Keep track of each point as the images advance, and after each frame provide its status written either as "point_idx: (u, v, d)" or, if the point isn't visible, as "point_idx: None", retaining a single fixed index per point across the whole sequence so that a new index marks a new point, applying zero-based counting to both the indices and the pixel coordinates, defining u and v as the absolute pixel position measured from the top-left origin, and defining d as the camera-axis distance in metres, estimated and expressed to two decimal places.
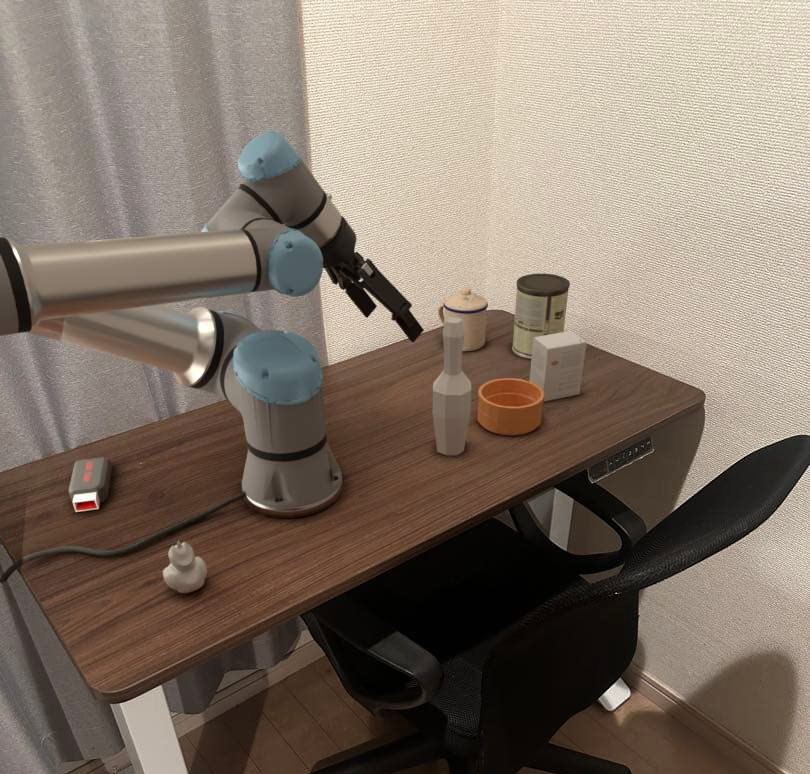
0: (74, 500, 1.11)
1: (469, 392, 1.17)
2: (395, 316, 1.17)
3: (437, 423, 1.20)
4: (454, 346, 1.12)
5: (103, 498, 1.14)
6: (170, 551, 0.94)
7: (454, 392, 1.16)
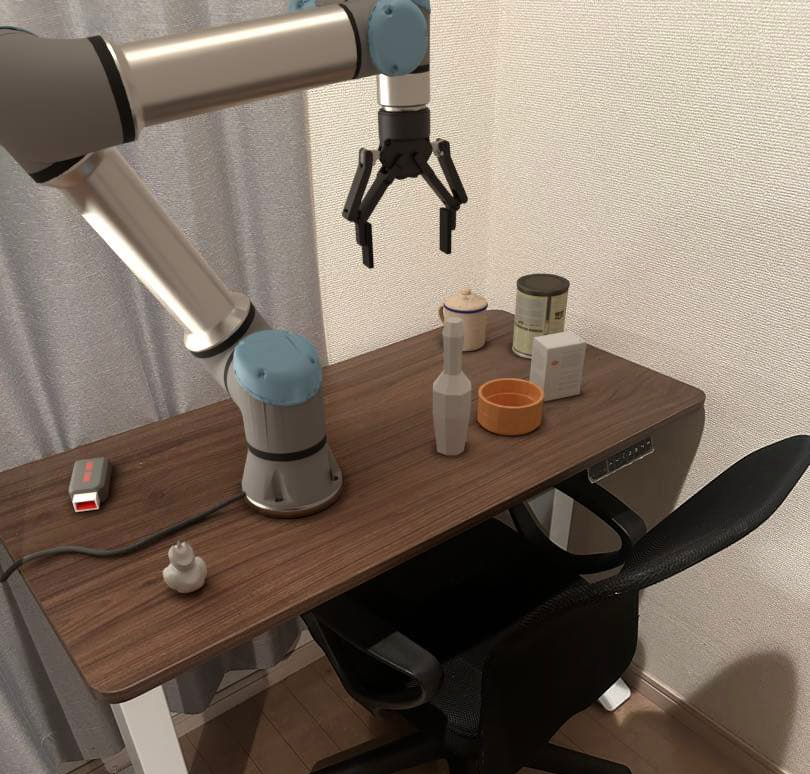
0: (74, 500, 1.11)
1: (469, 392, 1.17)
2: (458, 205, 1.17)
3: (437, 423, 1.20)
4: (454, 346, 1.12)
5: (103, 498, 1.14)
6: (170, 551, 0.94)
7: (454, 392, 1.16)
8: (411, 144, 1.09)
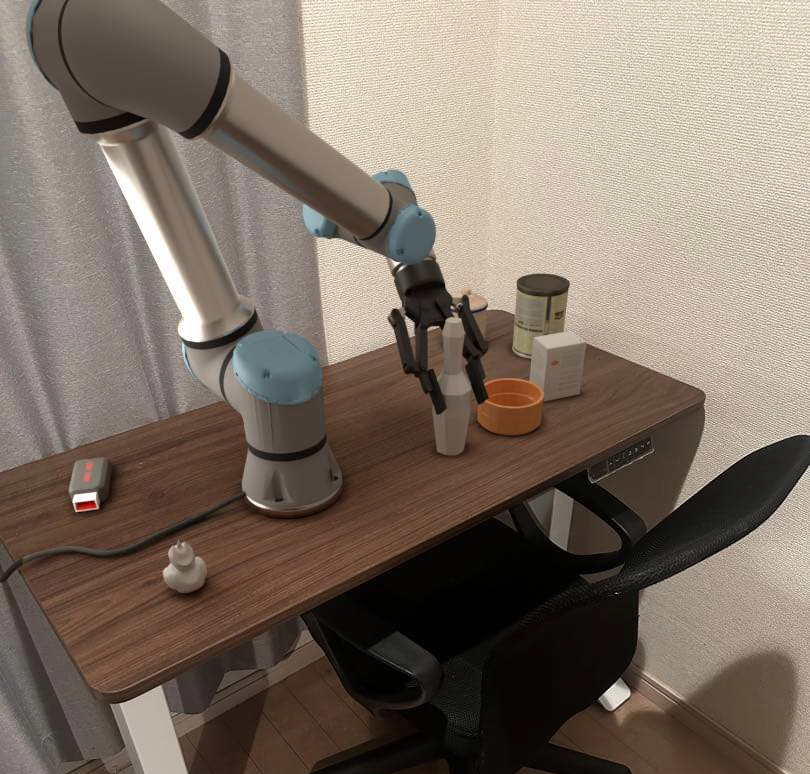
0: (74, 500, 1.11)
1: (469, 392, 1.17)
2: None
3: (436, 423, 1.20)
4: (454, 346, 1.12)
5: (103, 498, 1.14)
6: (170, 551, 0.94)
7: (454, 392, 1.16)
8: (429, 294, 1.17)
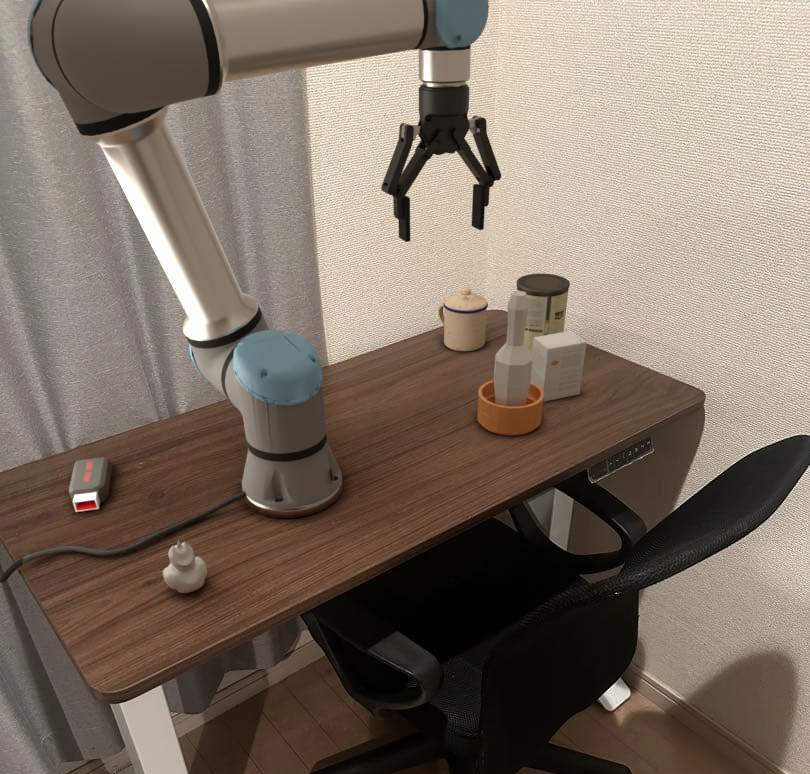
0: (74, 500, 1.11)
1: (530, 363, 1.24)
2: None
3: (498, 393, 1.27)
4: (519, 318, 1.19)
5: (103, 498, 1.14)
6: (170, 551, 0.94)
7: (517, 362, 1.22)
8: (449, 120, 1.13)
